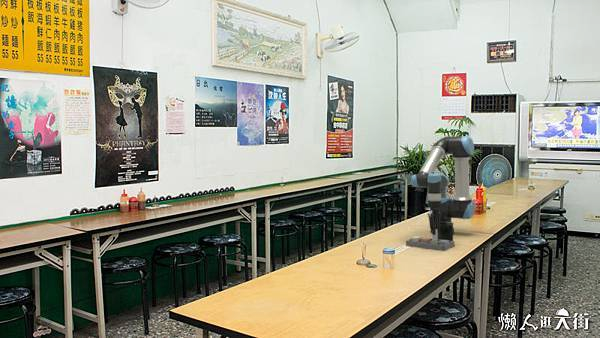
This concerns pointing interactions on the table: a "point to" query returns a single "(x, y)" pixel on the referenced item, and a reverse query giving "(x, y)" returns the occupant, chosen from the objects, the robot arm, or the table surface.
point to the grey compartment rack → (430, 245)
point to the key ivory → (416, 238)
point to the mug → (445, 231)
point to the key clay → (425, 239)
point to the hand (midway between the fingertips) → (434, 239)
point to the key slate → (443, 242)
